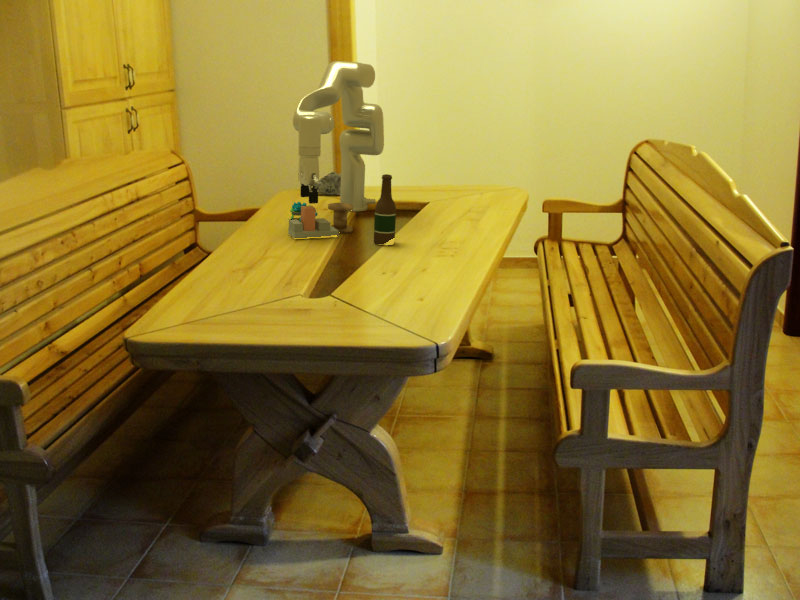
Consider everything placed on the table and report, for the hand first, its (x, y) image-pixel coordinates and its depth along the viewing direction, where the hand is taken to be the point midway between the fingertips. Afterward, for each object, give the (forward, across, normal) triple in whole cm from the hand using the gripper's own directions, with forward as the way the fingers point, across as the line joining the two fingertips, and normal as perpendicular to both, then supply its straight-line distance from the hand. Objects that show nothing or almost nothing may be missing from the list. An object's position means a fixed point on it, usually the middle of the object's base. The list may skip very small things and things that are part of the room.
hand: (309, 200), depth 341 cm
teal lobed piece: (+14, -24, +5) cm, 29 cm away
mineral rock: (+16, -69, +31) cm, 77 cm away
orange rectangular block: (+10, +1, -1) cm, 10 cm away
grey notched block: (+13, +1, +1) cm, 13 cm away
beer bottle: (+13, +16, +22) cm, 30 cm away
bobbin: (+13, -5, +13) cm, 19 cm away
